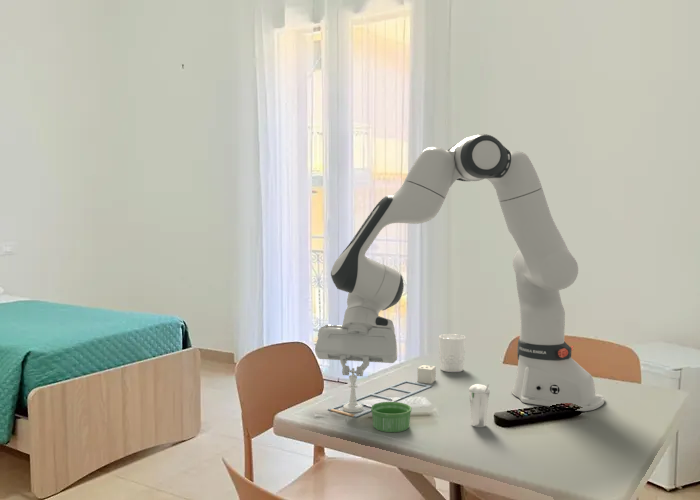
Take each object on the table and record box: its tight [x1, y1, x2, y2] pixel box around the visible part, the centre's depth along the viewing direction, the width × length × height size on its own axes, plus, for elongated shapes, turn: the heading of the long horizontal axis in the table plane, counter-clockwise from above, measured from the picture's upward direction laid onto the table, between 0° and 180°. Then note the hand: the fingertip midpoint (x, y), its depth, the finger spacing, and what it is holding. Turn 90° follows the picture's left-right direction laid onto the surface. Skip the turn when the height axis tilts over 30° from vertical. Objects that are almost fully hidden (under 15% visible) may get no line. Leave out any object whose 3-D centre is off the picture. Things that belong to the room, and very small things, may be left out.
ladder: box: [327, 379, 433, 418], centre depth 166 cm, size 9×33×1 cm, turn 141°
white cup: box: [438, 333, 466, 373], centre depth 194 cm, size 8×8×10 cm
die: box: [416, 364, 437, 385], centre depth 182 cm, size 4×4×4 cm
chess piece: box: [342, 367, 364, 413], centre depth 157 cm, size 5×5×10 cm
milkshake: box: [468, 383, 490, 428], centre depth 145 cm, size 5×5×10 cm
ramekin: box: [370, 401, 412, 433], centre depth 145 cm, size 9×9×4 cm
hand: (352, 374), depth 156 cm, fingers closed
